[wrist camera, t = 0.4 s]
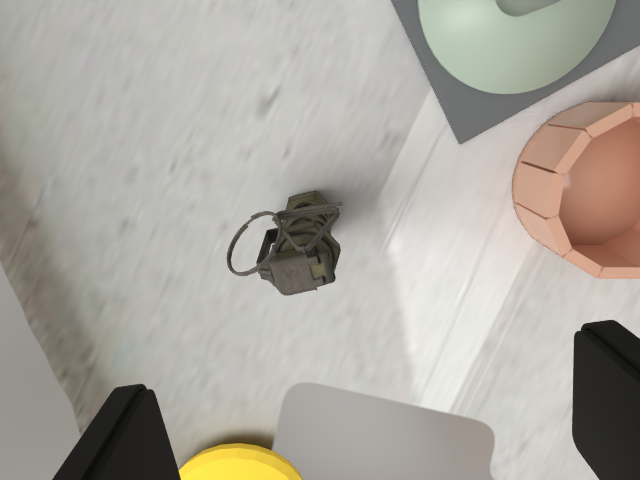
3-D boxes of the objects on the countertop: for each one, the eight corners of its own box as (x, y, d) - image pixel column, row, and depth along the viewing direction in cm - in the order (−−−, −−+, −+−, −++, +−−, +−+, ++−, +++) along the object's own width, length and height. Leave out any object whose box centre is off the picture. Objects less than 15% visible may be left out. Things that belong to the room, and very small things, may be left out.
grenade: (334, 169, 42) (343, 207, 28) (348, 228, 44) (363, 293, 30) (241, 192, 43) (204, 241, 29) (259, 250, 45) (232, 323, 30)
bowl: (488, 152, 42) (520, 162, 35) (636, 70, 40) (700, 66, 33) (544, 275, 46) (583, 306, 39) (682, 207, 44) (749, 227, 37)
